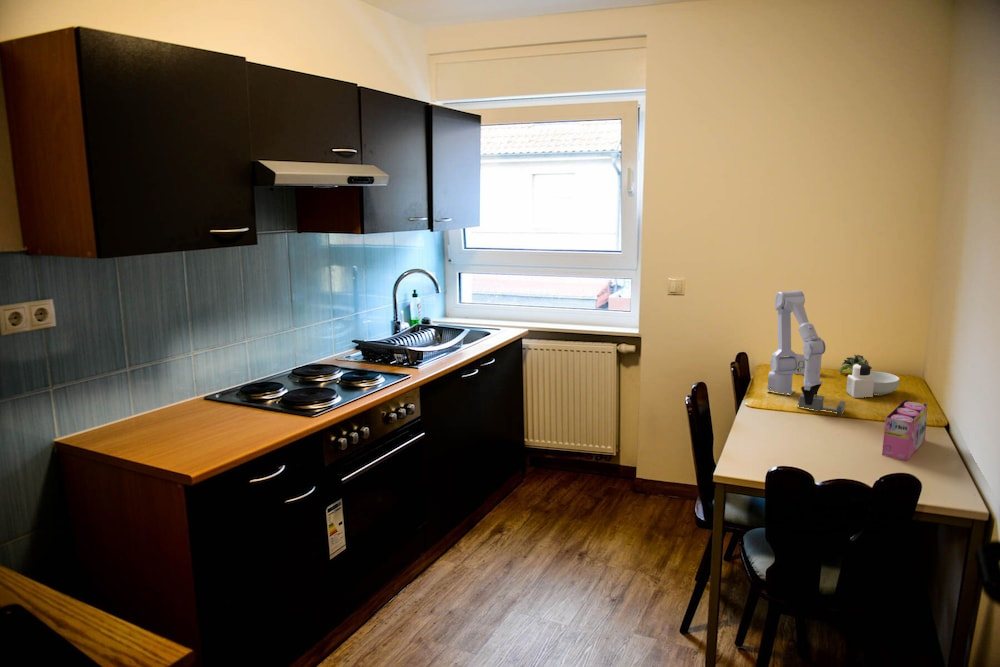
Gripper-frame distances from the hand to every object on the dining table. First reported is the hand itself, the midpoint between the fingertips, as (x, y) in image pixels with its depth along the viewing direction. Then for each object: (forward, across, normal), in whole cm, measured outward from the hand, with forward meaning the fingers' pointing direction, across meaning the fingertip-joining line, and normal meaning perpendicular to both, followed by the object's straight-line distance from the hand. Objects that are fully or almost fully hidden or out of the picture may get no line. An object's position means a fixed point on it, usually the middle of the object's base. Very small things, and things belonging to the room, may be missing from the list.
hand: (810, 402), depth 283 cm
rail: (+2, 0, -3) cm, 4 cm away
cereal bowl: (+3, +34, -18) cm, 38 cm away
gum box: (+3, -24, -36) cm, 44 cm away
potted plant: (+3, +56, -6) cm, 56 cm away
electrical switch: (+3, +47, +14) cm, 49 cm away
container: (+2, +27, -13) cm, 30 cm away
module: (+2, 0, 0) cm, 2 cm away
